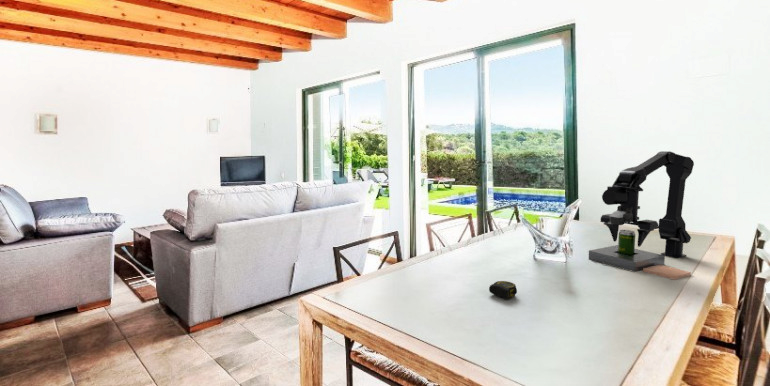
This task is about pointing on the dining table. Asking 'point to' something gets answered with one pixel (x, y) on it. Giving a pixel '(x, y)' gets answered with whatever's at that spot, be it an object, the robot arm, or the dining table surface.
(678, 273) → the coaster
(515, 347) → the dining table surface
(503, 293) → the tape measure
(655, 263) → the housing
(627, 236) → the beer can
